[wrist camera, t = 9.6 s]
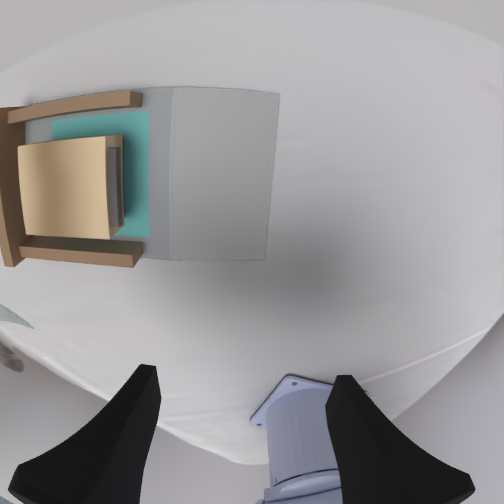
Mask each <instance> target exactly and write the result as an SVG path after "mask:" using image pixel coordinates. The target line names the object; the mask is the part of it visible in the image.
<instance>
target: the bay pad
mask: <svg viewBox="0 0 504 504" xmlns="http://www.w3.org/2000/svg"><path fill="white" fill-rule="evenodd" d="M149 120H150V112H133V113H118V114H106V115H96V116H87V117H79V118H71V119H64V120H58V121H52V129H51V140H58V139H67V138H77V137H88V136H100V135H116V134H123V139H124V194H125V217H124V224H125V225H124V226H123V227H122V228H121V229H120V230H119V231H118V232H117V233H116V234H115V235H114V236H127V237H145V238H150V235H149V208H148V146H149Z"/></svg>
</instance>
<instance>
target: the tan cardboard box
mask: <svg viewBox="0 0 504 504" xmlns="http://www.w3.org/2000/svg"><path fill="white" fill-rule="evenodd" d="M18 167H19V181H20V192H21V201H22V210H23V217H24V224H25V230H26V235H44V236H62V237H79V238H97V239H110V238H112V237H113V236H114V235H115V234H116V233H117V232H118V231H119V230H120V229H121V228H122V227H123V226H124V225H125V224H124V217H125V194H124V139H123V134H116V135H100V136H88V137H77V138H67V139H58V140H50V141H43V142H37V143H32V144H27V145H22V146H18Z"/></svg>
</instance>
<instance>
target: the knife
mask: <svg viewBox="0 0 504 504" xmlns="http://www.w3.org/2000/svg"><path fill="white" fill-rule="evenodd" d="M0 321H9V322H13V323H17V324H21V325H23V326H26V327H30V328H33V327H32V326H31V325H30V324H29V323H28V322H27V321H26V320H24V319H23V318H21V317H20V316H18V315H17V314H15V313H14V312H12V311H11V310H9V309H8V308H7V307H5V306H3V305H1V304H0ZM33 329H34V328H33Z"/></svg>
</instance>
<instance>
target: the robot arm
mask: <svg viewBox="0 0 504 504" xmlns="http://www.w3.org/2000/svg"><path fill="white" fill-rule="evenodd" d="M160 404H161V393H160V387H159V382H158V376H157V370H156V366H152V365H145V364H140V365H139V366H138V368H137V369H136V370H135V372H134V373H133V374H132V375H131V377H130V378H129V379H128V381H127V382H126V383H125V384H124V385H123V387H122V388H121V389H120V390H119V391H118V392H117V394H116V395H115V396H114V397H113V398H112V399H111V400H110V402H109V403H108V404H107V405H106V406H105V407H104V408H103V409H102V410H101V411H100V412H99V413H98V414H97V415H96V416H95V417H94V418H93V419H92V420H90V421H89V422H88V423H87V424H86V425H85V426H84V427H82V428H81V429H80V430H79V431H77V432H76V433H75V434H74V435H72V436H71V437H69V438H68V439H67V440H65V441H64V442H62V443H61V444H59V445H57V446H56V447H54V448H53V449H51V450H49V451H47V452H45V453H44V454H42V455H40V456H38V457H36V458H33V459H31V460H29V461H27V462H24V463H22V464H20V465H18V467H17V469H16V471H15V472H14V475H13V477H12V480H11V483H10V485H9V488H8V491H9V492H10V493H11V494H12V495H13V496H14V497H16V498H17V499H18V500H19V501H21V502H22V503H24V504H139V502H140V493H141V485H142V478H143V471H144V467H145V462H146V459H147V455H148V452H149V448H150V445H151V441H152V438H153V434H154V431H155V428H156V424H157V421H158V416H159V410H160ZM249 424H250V425H251V426H255V427H260V428H265V429H267V440H268V454H269V468H270V483H271V488H266V489H264V499H260V500H258V501H257V502H256V503H255V504H460V503H461V502H463V501H464V500H465V499H467V498H468V497H469V496H471V495H472V494H473V493H474V492H475V486H474V484H473V482H472V480H471V477H470V475H469V474H467V473H465V472H463V471H460V470H458V469H456V468H453V467H451V466H449V465H447V464H446V463H444V462H442V461H440V460H438V459H436V458H435V457H433V456H432V455H430V454H429V453H427V452H426V451H424V450H423V449H421V448H420V447H419V446H417V445H416V444H415V443H414V442H412V441H411V440H410V439H409V438H408V437H406V436H405V435H404V434H403V433H402V432H401V431H400V430H399V429H398V428H396V427H395V425H393V423H391V421H390V420H389V419H388V418H387V417H386V416H385V415H384V414H383V413H382V412H381V411H380V409H379V408H378V407H377V406H376V405H375V404H374V402H373V401H372V400H371V399H370V398H369V394H368V393H367V392H365V391H364V390H363V389H362V388H361V386H360V385H359V384H358V383H357V381H356V380H355V379H354V378H353V377H352V375H337V378H336V380H335V383H334V385H333V386H332V385H328V384H323V383H319V382H314V381H310V380H306V379H302V378H298V377H294V376H287V377H285V378H284V379H283V380H282V382H281V383H280V384H279V385H278V387H277V388H276V389H275V390H274V392H273V393H272V394H271V395H270V397H269V398H268V399H267V400H266V401H265V403H264V404H263V405H262V406H261V407H260V409H259V410H258V411H257V412H256V413H255V415H254V416H253V417H252V418H251V419H250V421H249ZM0 504H13V503H11V502H9V501H8V500H6V499H4V498H3V497H1V496H0Z"/></svg>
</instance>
